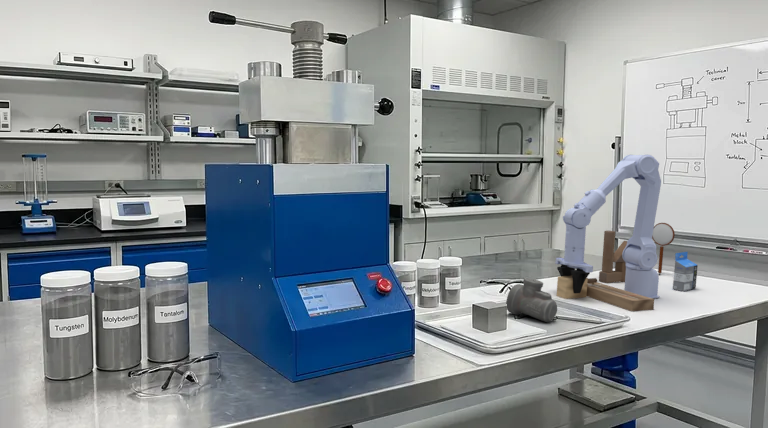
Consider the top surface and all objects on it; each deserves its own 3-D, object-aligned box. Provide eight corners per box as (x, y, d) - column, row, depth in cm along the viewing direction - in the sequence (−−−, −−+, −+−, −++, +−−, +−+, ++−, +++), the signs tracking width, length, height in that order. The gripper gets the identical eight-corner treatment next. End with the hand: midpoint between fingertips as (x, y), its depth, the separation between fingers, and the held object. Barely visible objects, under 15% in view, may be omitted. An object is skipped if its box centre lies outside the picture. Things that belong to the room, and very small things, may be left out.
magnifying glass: (672, 277, 209) (676, 223, 207) (669, 277, 208) (674, 224, 206) (649, 273, 216) (653, 221, 214) (647, 273, 215) (651, 221, 213)
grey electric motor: (501, 313, 148) (509, 275, 147) (518, 310, 154) (526, 274, 152) (540, 329, 139) (549, 289, 138) (557, 326, 145) (565, 288, 144)
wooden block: (629, 281, 198) (633, 231, 196) (606, 283, 193) (609, 231, 192) (621, 279, 201) (624, 229, 199) (598, 281, 197) (601, 230, 195)
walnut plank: (593, 290, 181) (594, 281, 181) (653, 309, 159) (654, 298, 159) (573, 291, 178) (574, 282, 178) (631, 311, 156) (632, 300, 156)
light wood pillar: (590, 293, 177) (591, 274, 176) (599, 296, 173) (600, 277, 173) (556, 295, 172) (557, 276, 172) (565, 298, 169) (566, 279, 168)
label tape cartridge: (683, 292, 184) (687, 254, 182) (671, 289, 187) (674, 253, 186) (696, 289, 189) (699, 253, 188) (684, 286, 192) (687, 251, 191)
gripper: (548, 244, 176) (546, 286, 177) (580, 251, 162) (577, 297, 164) (566, 243, 178) (564, 285, 180) (599, 250, 165) (596, 296, 166)
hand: (571, 291), depth 172 cm, fingers closed on light wood pillar, 4 cm apart
